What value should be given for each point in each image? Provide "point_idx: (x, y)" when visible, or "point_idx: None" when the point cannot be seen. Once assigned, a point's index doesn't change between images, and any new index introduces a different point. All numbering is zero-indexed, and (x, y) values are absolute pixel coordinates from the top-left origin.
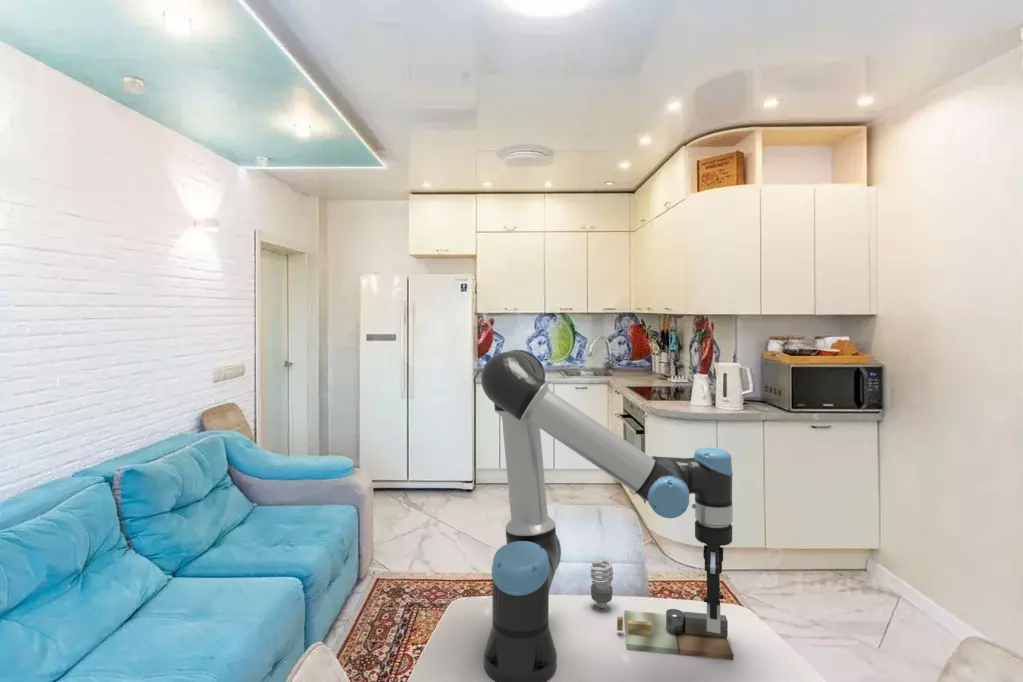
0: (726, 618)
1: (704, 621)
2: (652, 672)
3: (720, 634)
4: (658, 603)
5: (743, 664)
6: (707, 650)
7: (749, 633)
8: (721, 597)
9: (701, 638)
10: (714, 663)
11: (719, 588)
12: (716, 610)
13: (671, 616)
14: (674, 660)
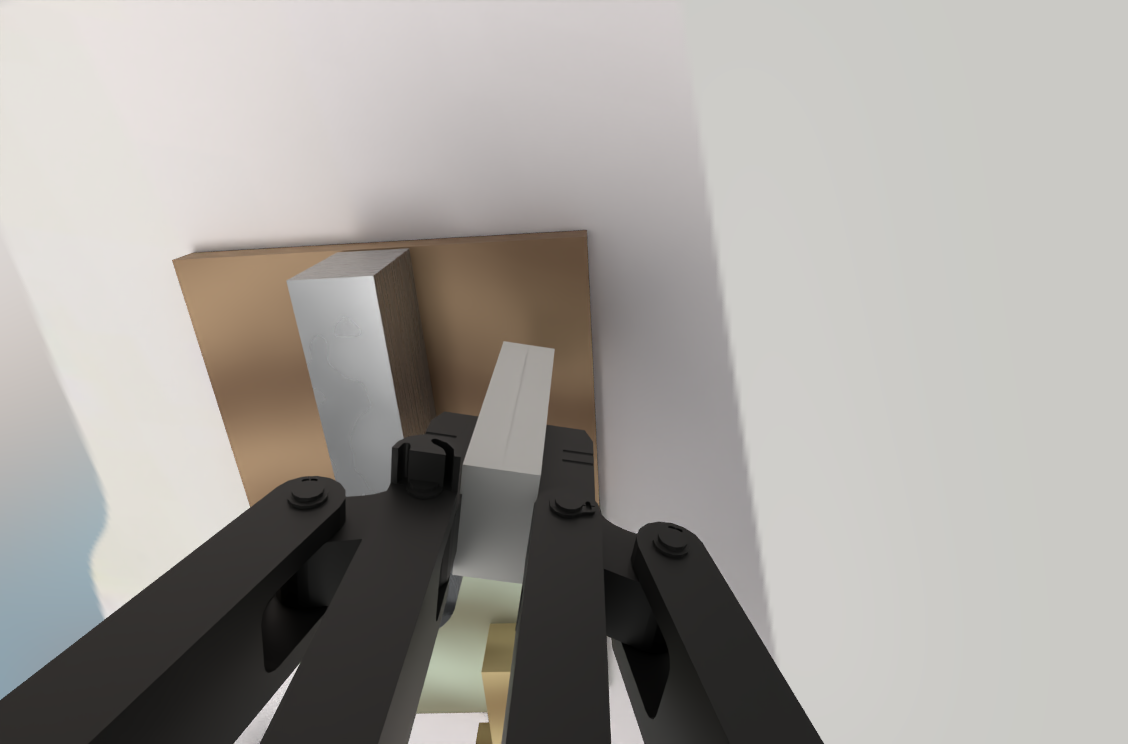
0: (333, 278)
1: (407, 425)
2: (761, 605)
3: (413, 297)
4: (125, 557)
5: (615, 175)
6: (579, 381)
7: (223, 59)
8: (457, 473)
9: (460, 399)
10: (639, 340)
11: (432, 565)
12: (591, 482)
13: (444, 615)
14: (652, 519)
